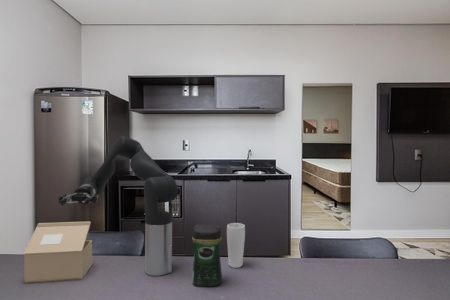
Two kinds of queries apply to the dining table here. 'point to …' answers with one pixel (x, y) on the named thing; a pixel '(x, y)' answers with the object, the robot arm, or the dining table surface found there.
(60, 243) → the lid
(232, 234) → the drinking glass
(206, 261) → the coffee jar
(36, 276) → the mailer box
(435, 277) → the dining table surface
